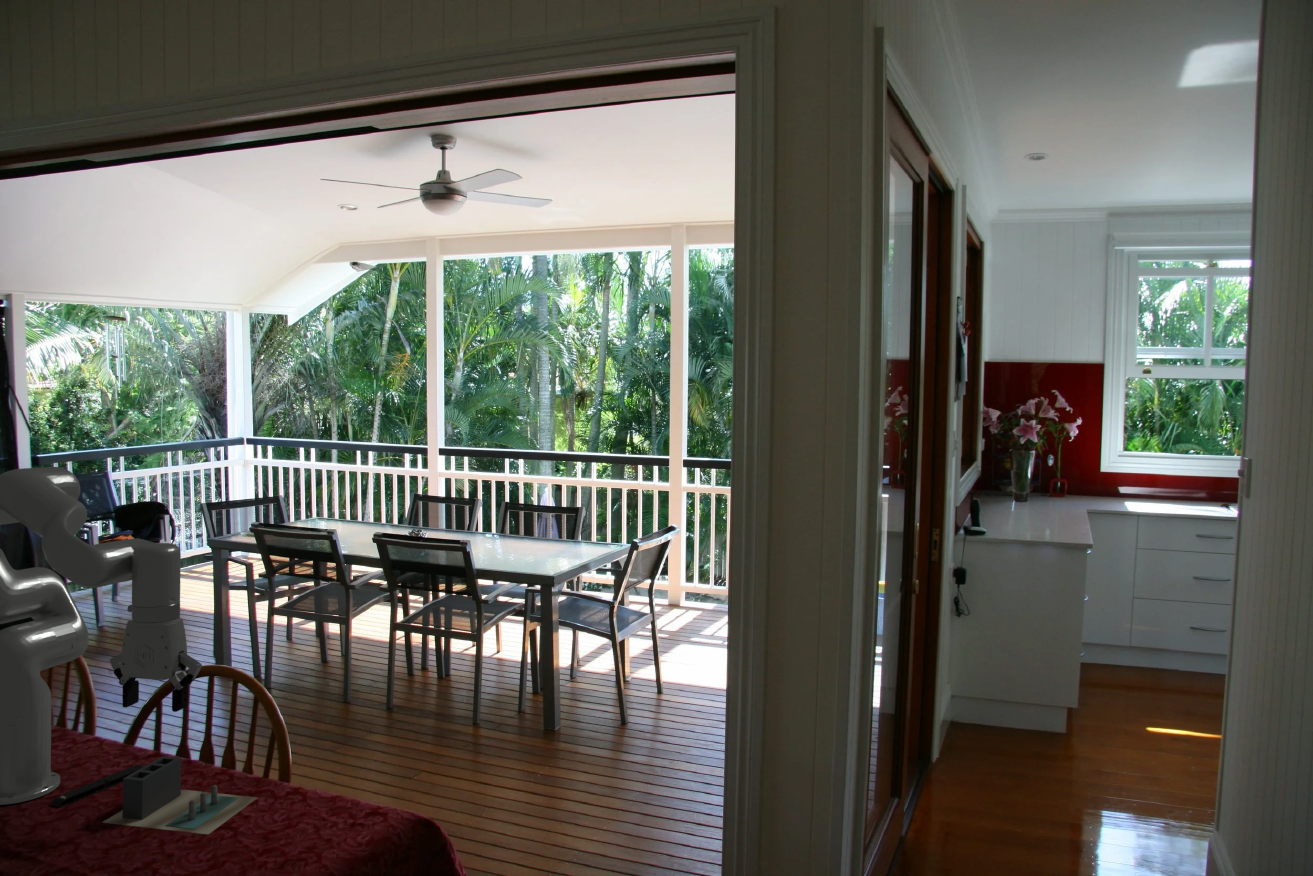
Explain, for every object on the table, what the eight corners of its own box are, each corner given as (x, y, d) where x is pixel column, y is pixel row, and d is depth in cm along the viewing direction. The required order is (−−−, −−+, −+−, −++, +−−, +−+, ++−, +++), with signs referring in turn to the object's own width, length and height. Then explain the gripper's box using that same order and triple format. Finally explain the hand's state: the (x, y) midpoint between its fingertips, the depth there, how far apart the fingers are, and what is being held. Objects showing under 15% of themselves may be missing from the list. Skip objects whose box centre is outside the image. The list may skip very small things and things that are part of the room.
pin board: (102, 830, 148) (102, 802, 148) (159, 795, 162) (160, 769, 162) (208, 843, 145) (208, 814, 145) (257, 805, 159) (257, 779, 159)
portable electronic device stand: (142, 776, 170) (143, 761, 170) (152, 779, 169) (152, 764, 169) (50, 815, 153) (50, 798, 153) (59, 818, 152) (60, 801, 152)
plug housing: (142, 820, 149) (142, 780, 149) (122, 817, 150) (123, 778, 149) (180, 795, 159) (181, 758, 159) (162, 793, 159) (162, 756, 159)
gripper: (96, 614, 150) (95, 710, 151) (185, 621, 148) (184, 718, 149) (128, 605, 158) (127, 696, 159) (214, 611, 156) (212, 704, 156)
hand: (155, 707), depth 154 cm, fingers open, 9 cm apart
